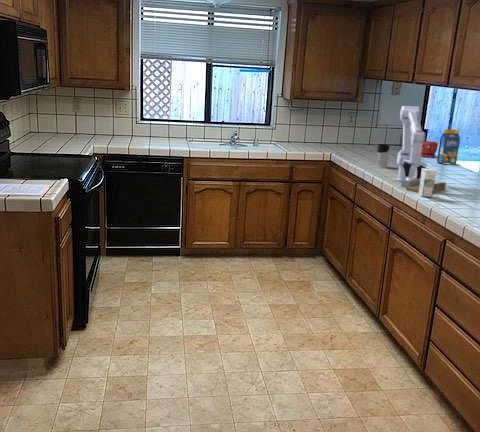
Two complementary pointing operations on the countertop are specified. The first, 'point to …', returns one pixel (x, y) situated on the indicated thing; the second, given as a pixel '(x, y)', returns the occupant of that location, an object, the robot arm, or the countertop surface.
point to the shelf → (436, 188)
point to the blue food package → (448, 147)
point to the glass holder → (381, 155)
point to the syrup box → (427, 182)
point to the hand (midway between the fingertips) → (412, 177)
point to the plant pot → (429, 149)
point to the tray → (410, 182)
